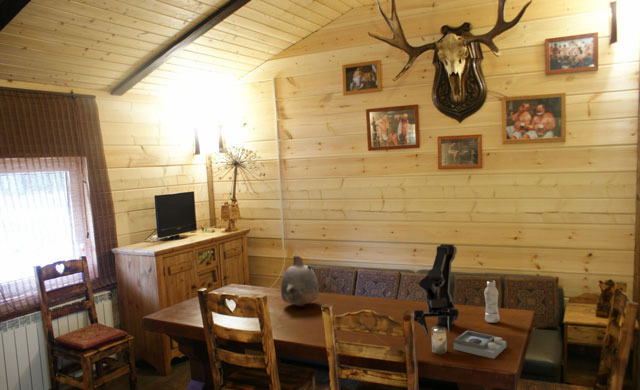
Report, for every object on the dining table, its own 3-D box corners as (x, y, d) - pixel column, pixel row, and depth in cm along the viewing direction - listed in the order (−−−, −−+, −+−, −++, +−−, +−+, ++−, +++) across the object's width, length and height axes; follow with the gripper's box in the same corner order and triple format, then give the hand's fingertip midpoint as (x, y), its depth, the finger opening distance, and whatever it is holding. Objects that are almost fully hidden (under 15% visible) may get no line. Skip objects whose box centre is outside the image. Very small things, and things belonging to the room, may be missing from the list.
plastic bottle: (500, 324, 227) (499, 283, 225) (485, 324, 228) (484, 283, 226) (498, 320, 233) (497, 279, 231) (484, 319, 234) (482, 279, 233)
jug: (319, 312, 259) (316, 257, 257) (279, 314, 259) (276, 259, 257) (319, 299, 283) (317, 249, 281) (283, 300, 284) (281, 251, 282)
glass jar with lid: (430, 348, 203) (429, 326, 202) (445, 348, 203) (444, 326, 202) (434, 356, 195) (433, 333, 194) (449, 356, 194) (449, 333, 194)
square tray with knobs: (453, 349, 201) (453, 338, 201) (467, 338, 212) (467, 328, 211) (493, 358, 190) (493, 347, 190) (506, 347, 200) (506, 336, 200)
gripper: (412, 291, 204) (417, 325, 194) (457, 290, 203) (464, 324, 192) (411, 304, 212) (415, 337, 202) (453, 302, 211) (460, 336, 201)
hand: (438, 333), depth 199 cm, fingers open, 9 cm apart
